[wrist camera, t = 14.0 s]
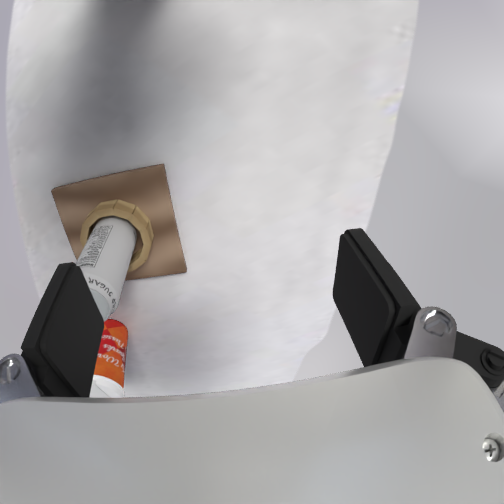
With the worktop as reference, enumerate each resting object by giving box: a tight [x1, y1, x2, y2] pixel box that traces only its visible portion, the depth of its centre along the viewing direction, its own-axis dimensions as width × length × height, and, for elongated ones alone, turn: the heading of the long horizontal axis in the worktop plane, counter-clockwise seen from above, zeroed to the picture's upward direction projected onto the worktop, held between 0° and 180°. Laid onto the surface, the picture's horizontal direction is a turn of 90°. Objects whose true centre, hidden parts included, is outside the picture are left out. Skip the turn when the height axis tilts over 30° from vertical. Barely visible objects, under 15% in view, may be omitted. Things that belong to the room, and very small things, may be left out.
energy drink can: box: [76, 215, 137, 322], centre depth 35 cm, size 6×6×15 cm
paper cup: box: [89, 319, 128, 398], centre depth 46 cm, size 8×8×14 cm
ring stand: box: [51, 164, 187, 281], centre depth 40 cm, size 16×16×4 cm
